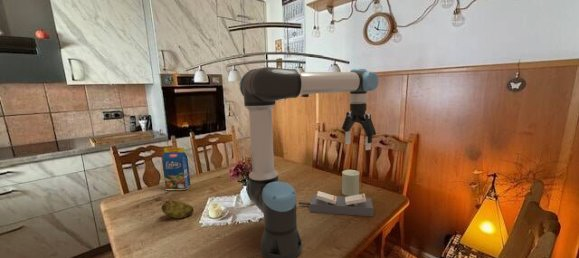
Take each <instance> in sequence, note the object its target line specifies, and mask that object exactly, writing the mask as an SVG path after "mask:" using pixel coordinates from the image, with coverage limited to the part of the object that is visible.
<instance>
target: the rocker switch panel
mask: <svg viewBox="0 0 579 258" xmlns="http://www.w3.org/2000/svg"><path fill="white" fill-rule="evenodd" d="M336 196H337V197H336V204H332V203H329V202H326V201H323V200H319V199H316V197H317V194H311V199H310V201H309V202H304V201H299V202H298V205H301V206H302V205H303V206H309V212H310V213H318V214H330V215H331V214H333V215H334V214H335V215H344V216H345V215H347V216H357V217H358V216H362V217H374V205H373V203H372V198H371V197H365V198H366V202H361V203H355V204H350V205H346V203H345V197H346V196H339V195H336Z"/></svg>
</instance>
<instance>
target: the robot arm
mask: <svg viewBox="0 0 579 258" xmlns="http://www.w3.org/2000/svg"><path fill="white" fill-rule="evenodd" d="M379 80H380V79H379V76H378V74H377V73H376V72H375V71H368V69H365V68H353V69H351V70H350V71H332V72H331V71H317V72H316V71H309V72H307V71H306V72H303V71H299V70H298V69H295V68H292V69H291V68H278V67H273V66H265V67H260V68H253V69H249V70H248V71H247V72H245V73H244V74H242V76H241V78H240V81H239V90H240V94H241V95H242V96H243V104H244V107H245V108H246V109H247V110H248V116H249V117H248V118H249V119H248V120H249V135H250V151H251V167H252V169H251V172H250V173H249V174H248V180H247V181H246V182H247V183H246V188H245V189H246V193H247V196H248V198H249V199H250V201H251V202H252V203H254V205H255V206H256V207H257V208H258V209H259V211H261V213H262V215H263V223H264V224H263V225H264V227H263V229H264V231H263V233H262V237H261V241H260V253H261V255H262V257H264V258H297V257H298V256H299V255H300V254H301V253H302V250H303V241H302V237H301V234H300V232H299V230H298V224H297V221H298V220H297V193H296V189H295V187H294V186H293V185H292V184H290V183H287V182H283V181H279V171H277V169H275V160H274V159H275V158H274V157H275V156H274V136H273V134H274V133H273V115H272V114H273V111H272V110H273V109H274V108H275V106H276V101H280V100H286V99H294V98H295V99H297V98H299V96H300V95H313V94H333V93H349V102H350V103H349V111H348V112H347V111H346V114H345V119H344V120H343V124H342V126H341V130H343V131H344V138H345V142H344V143H345V145H350V144H351V143H352V142H351V139H352V138H351V129H352V127H353V126H354V124H355V123H358V124H359V125H361V127H362V128H363V130H364V133H365V141H364V142H365V146H364V147H365V151H370V150H371V149H372V143H373V136H376V135H377V132H376V129H375V125H374V124H373V121H372V114H371V113H366V111H367V105H368V104H367V101H368V99H367V98H368V97H367V95H368V94H367V93H368V92H372V91H375V90H376V89H377V88H378V86H379Z"/></svg>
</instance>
